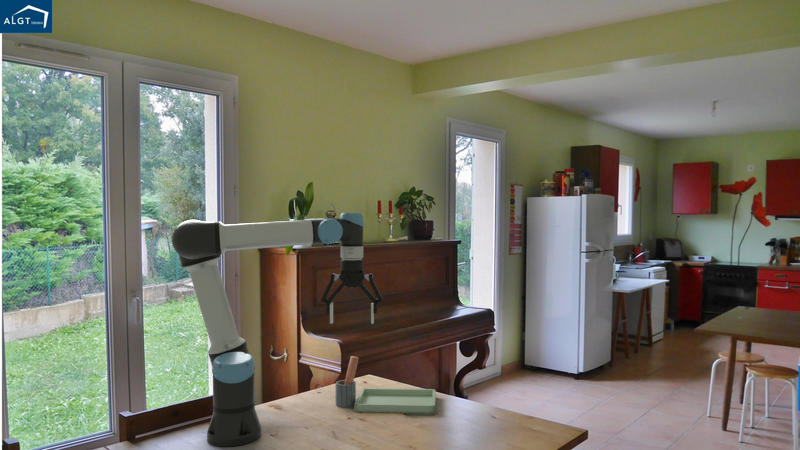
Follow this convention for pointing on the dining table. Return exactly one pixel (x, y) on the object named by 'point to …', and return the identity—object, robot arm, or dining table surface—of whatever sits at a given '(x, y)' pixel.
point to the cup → (345, 394)
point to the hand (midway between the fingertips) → (352, 323)
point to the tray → (396, 401)
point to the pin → (351, 370)
